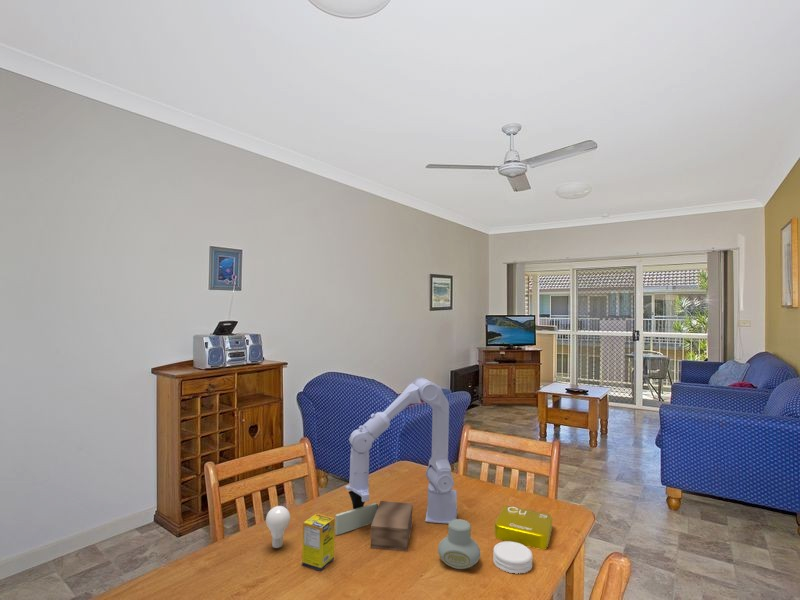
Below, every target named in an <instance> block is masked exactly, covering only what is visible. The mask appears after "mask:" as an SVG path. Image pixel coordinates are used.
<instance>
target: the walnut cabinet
mask: <svg viewBox="0 0 800 600" xmlns="http://www.w3.org/2000/svg"><path fill="white" fill-rule="evenodd" d="M412 525H413V503H411V502H410V503H409V502H398V501H397V502H396V501H388V500H387V501H385V500H380V501H379V504H378V509H377V511H376V514H375V517H374V519H373V522H372V524H370V549H378V550H388V551H389V550H390V551H401V552H407V551H408V547H409V546H408V545H409V541H410V536H411V532H412V531H411V530H412Z"/></svg>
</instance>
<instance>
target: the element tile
mask: <svg viewBox="0 0 800 600" xmlns="http://www.w3.org/2000/svg"><path fill="white" fill-rule="evenodd" d="M551 532H552V533H553V516H552V515H551V514H548V513H544V512H538V511H535V510H530V509H524V508H520V507H515V506H510V505H505V506H503V507H502V509H501V510H500V511H499V514H498V516H497V517H496V520H495V521H494V535H495V536H494V538H495V537H496V538H495V539H497V538H498V539H497V540H499V539H500V540H499V541H502V540H505V541H510V542H516V543H520V544H522V545H525V546H526V547H527V546H531V547H535V548H540V549H545V548H547V547H548V548H549V545H548V544H550V541H549V540H551V537H550V536H551V535H552V533H551ZM505 541H504V542H505ZM531 547H530V548H531ZM535 548H534V549H535ZM548 548H547V549H548ZM540 549H539V550H540ZM545 550H546V549H545Z"/></svg>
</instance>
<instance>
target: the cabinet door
mask: <svg viewBox="0 0 800 600" xmlns="http://www.w3.org/2000/svg"><path fill="white" fill-rule="evenodd" d="M378 506H379V504H378V503H376V502H373V503H369V504H366V505H364V506H363V507H359V508H356V509H353V508H352V509H350V510H347V511H344V512H343V511H342V512H339V513H336V514H335V517H334V518H335V531H334V535H336V536H339V535H343V534H345V533H348V532H350V531H354V530H358V529H360V528H364V527H365V526H369V525H372V522H373V519H374V517H375V514H376V511H377V509H378Z"/></svg>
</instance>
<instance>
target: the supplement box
mask: <svg viewBox="0 0 800 600" xmlns="http://www.w3.org/2000/svg"><path fill="white" fill-rule="evenodd" d="M301 558H302V559H301V560H302V562H301V563H302V566H304V567H308V568H311V569H313V570H317V571H320V572H321V571H323V570H324V569H325V568H326V567H327V566H328V565H330V564H331V562H333V561H334V559H335V517H332V516H328V515H324V514H321V513H315V514H313V515H312V516H311V517H309V518H307V519H306V520H305V521H303V523H302V557H301Z"/></svg>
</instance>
